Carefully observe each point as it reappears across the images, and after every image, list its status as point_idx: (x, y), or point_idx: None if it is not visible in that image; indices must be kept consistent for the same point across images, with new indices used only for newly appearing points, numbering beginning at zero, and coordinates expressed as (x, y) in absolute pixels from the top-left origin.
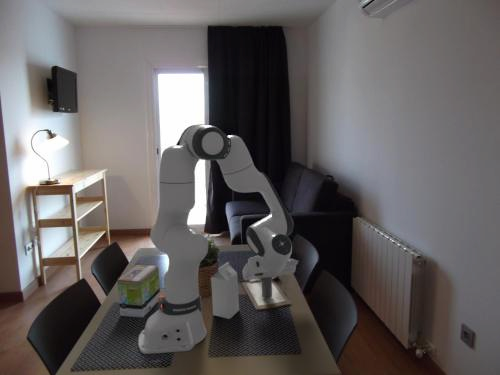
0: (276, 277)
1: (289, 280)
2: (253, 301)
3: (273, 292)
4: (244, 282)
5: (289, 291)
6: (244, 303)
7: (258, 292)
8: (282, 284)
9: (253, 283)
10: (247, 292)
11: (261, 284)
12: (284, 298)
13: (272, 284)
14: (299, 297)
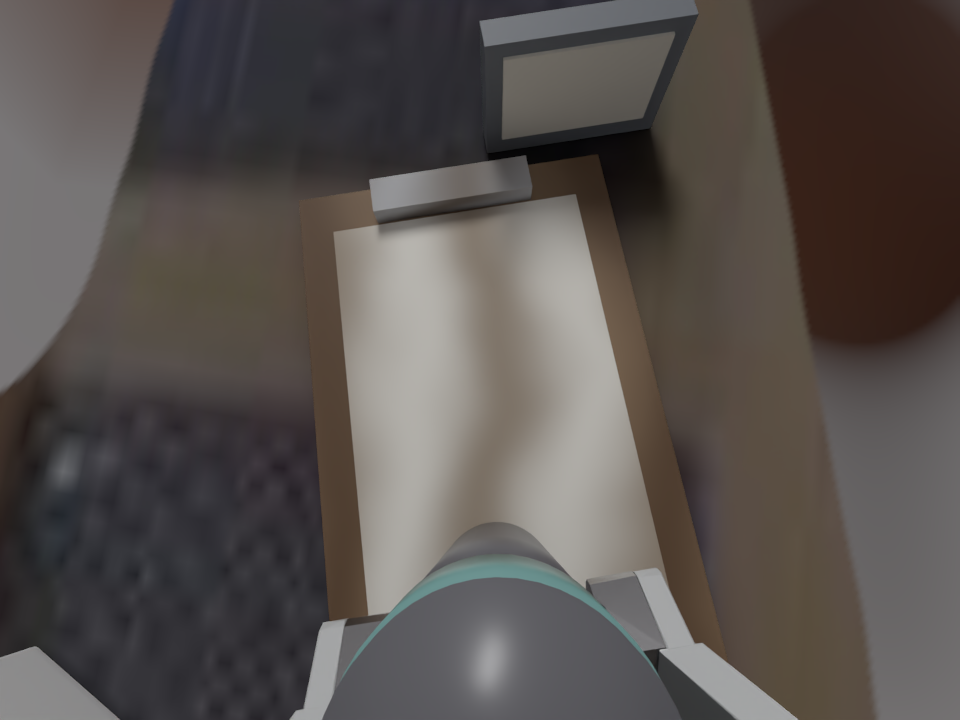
0: (637, 129)
1: (756, 200)
2: (345, 618)
3: (578, 459)
4: (325, 197)
5: (741, 423)
6: (259, 606)
7: (424, 431)
8: (682, 268)
9: (403, 235)
10: (318, 404)
11: (478, 265)
12: (682, 608)
13: (586, 283)
14: (840, 576)
